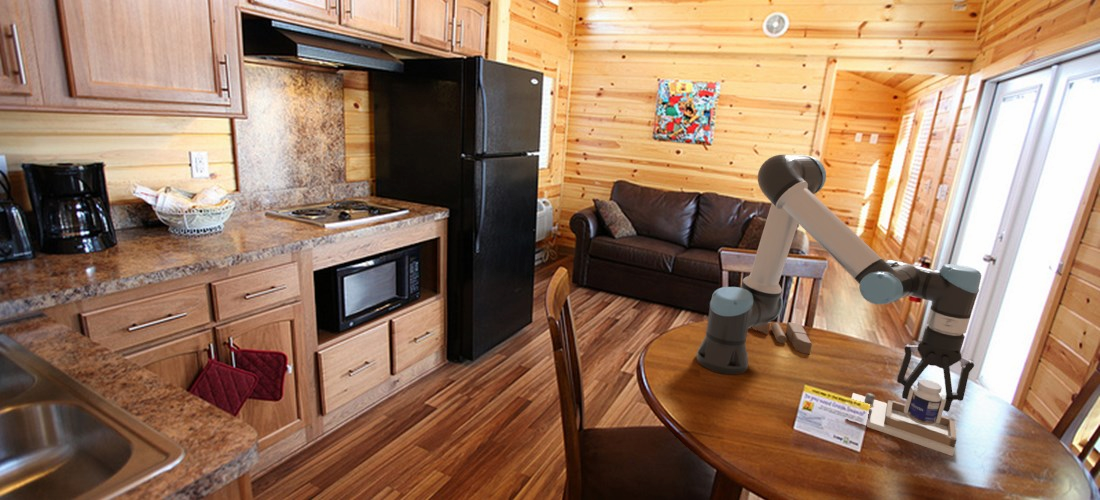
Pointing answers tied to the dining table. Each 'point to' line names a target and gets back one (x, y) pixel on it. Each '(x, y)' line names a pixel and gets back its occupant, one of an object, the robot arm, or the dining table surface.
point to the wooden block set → (789, 335)
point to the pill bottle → (925, 402)
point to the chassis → (909, 425)
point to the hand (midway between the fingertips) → (921, 415)
